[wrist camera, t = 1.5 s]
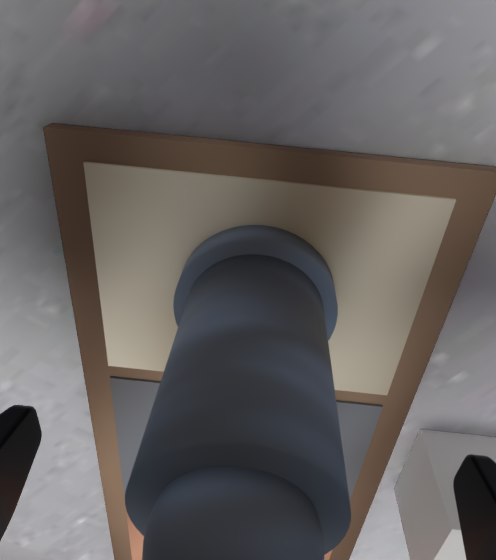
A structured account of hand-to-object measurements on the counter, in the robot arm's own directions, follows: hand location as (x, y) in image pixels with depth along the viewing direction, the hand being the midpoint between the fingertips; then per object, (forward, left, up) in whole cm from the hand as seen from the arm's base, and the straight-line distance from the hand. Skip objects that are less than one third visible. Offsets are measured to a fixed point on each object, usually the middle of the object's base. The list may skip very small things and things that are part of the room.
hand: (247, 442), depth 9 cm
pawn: (0, 0, -5) cm, 5 cm away
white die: (-9, +8, -6) cm, 13 cm away
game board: (0, +8, -6) cm, 10 cm away
